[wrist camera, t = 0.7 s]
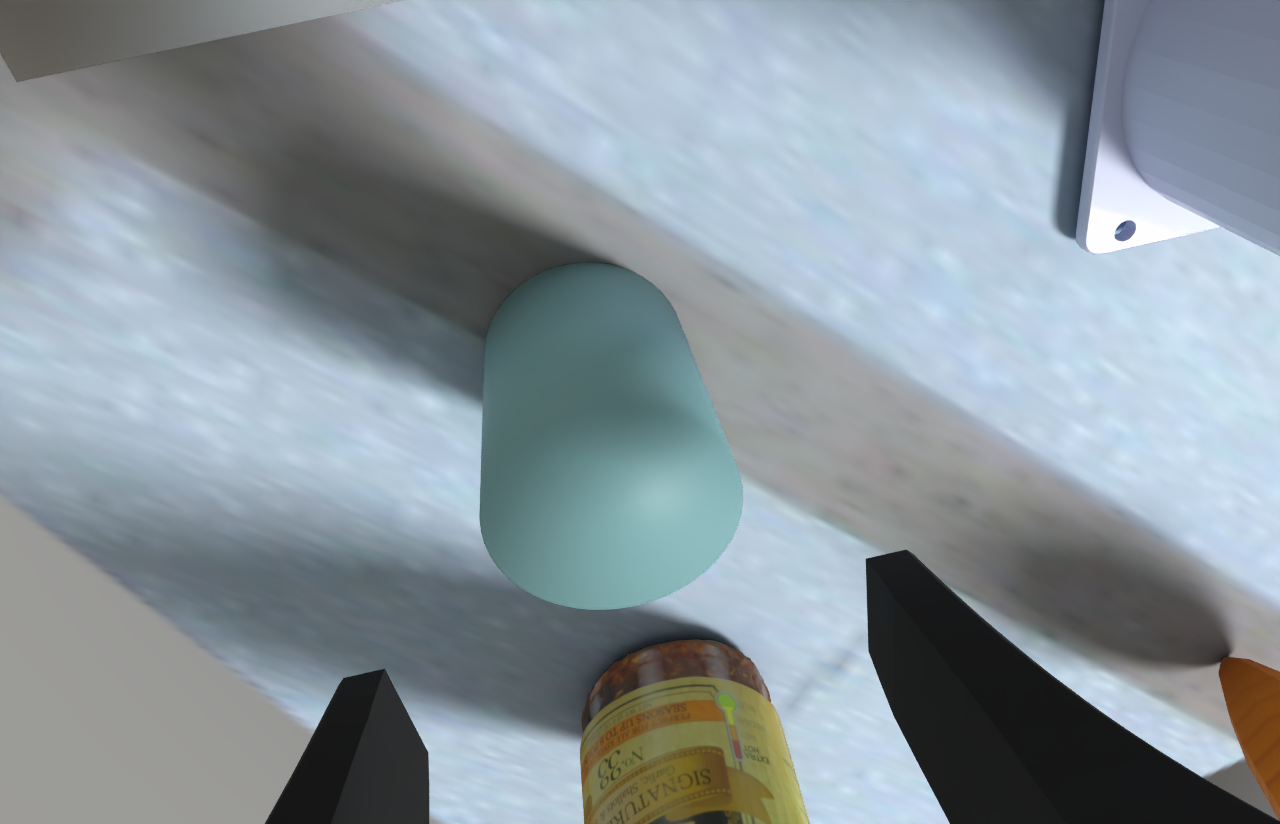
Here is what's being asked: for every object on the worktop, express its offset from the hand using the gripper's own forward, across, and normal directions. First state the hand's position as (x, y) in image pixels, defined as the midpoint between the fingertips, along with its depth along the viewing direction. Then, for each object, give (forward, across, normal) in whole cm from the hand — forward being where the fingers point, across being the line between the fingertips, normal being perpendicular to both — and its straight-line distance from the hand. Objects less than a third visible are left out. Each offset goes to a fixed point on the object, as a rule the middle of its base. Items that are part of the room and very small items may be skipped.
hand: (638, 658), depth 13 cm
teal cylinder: (+9, 0, 0) cm, 9 cm away
